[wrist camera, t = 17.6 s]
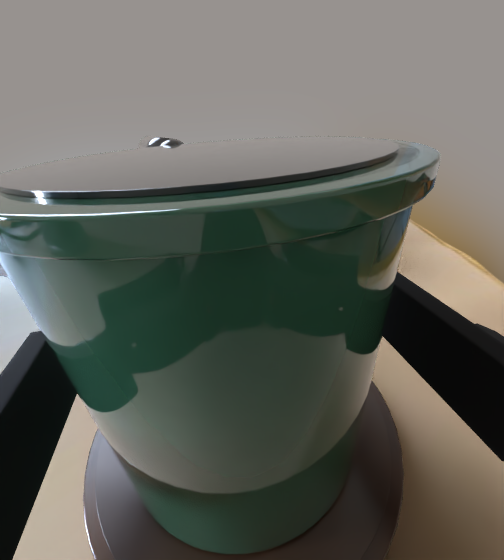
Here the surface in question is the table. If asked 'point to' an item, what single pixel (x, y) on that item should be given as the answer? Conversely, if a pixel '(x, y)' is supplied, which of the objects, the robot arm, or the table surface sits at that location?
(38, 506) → the table surface
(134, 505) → the turntable
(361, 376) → the pot
